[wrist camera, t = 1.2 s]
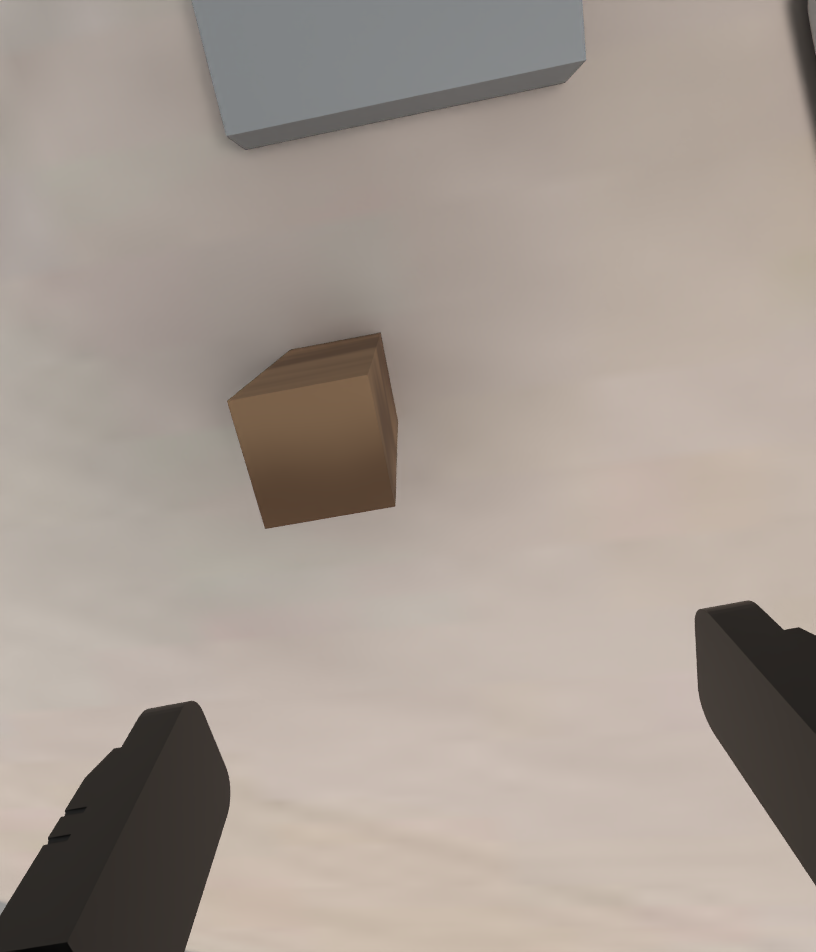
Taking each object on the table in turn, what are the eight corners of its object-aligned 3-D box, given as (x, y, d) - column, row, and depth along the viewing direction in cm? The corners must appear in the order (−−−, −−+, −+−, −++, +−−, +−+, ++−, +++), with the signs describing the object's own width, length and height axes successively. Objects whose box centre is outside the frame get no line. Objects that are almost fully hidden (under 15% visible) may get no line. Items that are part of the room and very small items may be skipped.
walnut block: (290, 349, 29) (227, 400, 18) (380, 332, 28) (367, 374, 18) (312, 436, 30) (264, 528, 20) (397, 421, 30) (395, 506, 20)
